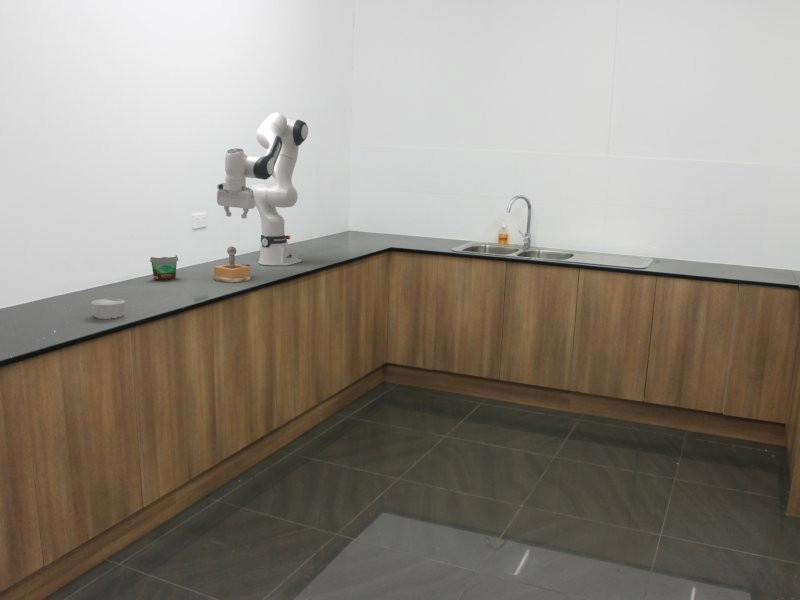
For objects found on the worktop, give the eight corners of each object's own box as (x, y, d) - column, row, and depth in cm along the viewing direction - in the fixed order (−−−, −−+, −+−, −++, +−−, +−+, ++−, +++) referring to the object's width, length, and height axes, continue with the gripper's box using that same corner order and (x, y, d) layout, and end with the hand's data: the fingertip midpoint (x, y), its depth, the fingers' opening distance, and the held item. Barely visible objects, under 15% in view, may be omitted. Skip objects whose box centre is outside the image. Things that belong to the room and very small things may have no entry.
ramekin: (130, 313, 278) (129, 298, 276) (119, 320, 267) (119, 305, 266) (98, 312, 277) (97, 297, 276) (86, 319, 266) (85, 304, 265)
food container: (156, 282, 332) (155, 259, 330) (150, 279, 336) (149, 256, 334) (183, 279, 340) (183, 256, 337) (177, 277, 344) (177, 254, 342)
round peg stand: (232, 274, 355) (232, 242, 352) (258, 278, 346) (258, 246, 343) (205, 279, 342) (205, 246, 339) (231, 284, 333) (231, 250, 330)
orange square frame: (231, 279, 336) (231, 269, 335) (214, 275, 342) (214, 266, 341) (256, 274, 348) (256, 265, 348) (239, 271, 354) (239, 262, 354)
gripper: (258, 187, 342) (258, 218, 345) (224, 184, 353) (225, 214, 356) (247, 188, 337) (248, 220, 340) (214, 184, 347) (215, 215, 351)
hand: (236, 217), depth 348 cm, fingers open, 8 cm apart
